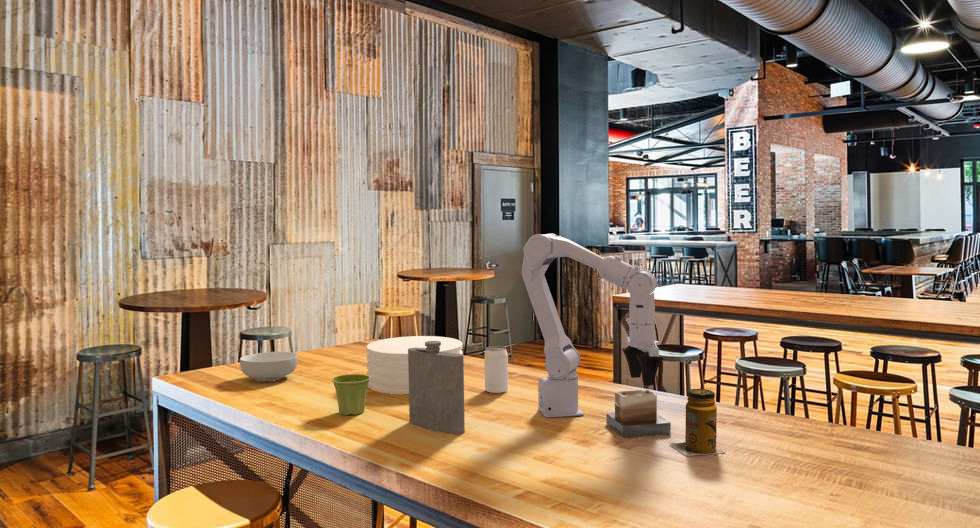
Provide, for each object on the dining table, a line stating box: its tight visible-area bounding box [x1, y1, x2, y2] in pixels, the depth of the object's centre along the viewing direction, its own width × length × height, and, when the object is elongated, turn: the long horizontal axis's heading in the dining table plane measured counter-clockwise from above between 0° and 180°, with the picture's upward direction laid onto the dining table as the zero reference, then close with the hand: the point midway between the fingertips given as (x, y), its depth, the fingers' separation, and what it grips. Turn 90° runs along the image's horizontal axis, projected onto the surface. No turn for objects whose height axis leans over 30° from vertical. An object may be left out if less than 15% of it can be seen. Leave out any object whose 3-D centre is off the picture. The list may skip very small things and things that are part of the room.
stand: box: [605, 412, 672, 438], centre depth 148 cm, size 11×10×2 cm
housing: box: [614, 389, 658, 422], centre depth 147 cm, size 5×8×6 cm, turn 100°
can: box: [484, 345, 509, 394], centre depth 182 cm, size 6×6×12 cm
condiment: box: [669, 388, 725, 457], centre depth 134 cm, size 7×8×12 cm
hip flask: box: [408, 341, 466, 436], centre depth 150 cm, size 16×4×20 cm, turn 52°
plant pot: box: [331, 373, 371, 416], centre depth 163 cm, size 9×9×9 cm
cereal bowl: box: [239, 351, 299, 383], centre depth 200 cm, size 17×17×7 cm
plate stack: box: [366, 335, 464, 395], centre depth 194 cm, size 28×28×12 cm
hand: (641, 381), depth 153 cm, fingers open, 7 cm apart
